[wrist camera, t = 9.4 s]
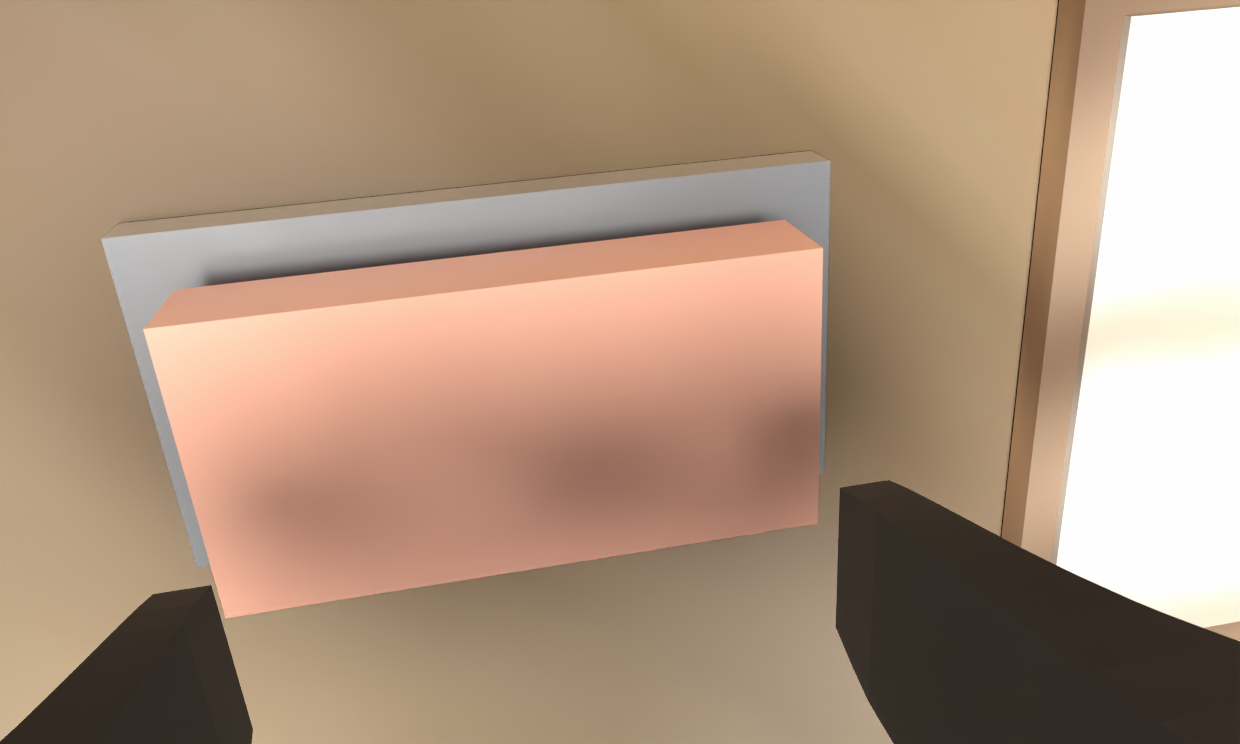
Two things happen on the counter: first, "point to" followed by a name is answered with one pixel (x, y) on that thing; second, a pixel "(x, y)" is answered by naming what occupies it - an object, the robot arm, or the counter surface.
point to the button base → (449, 240)
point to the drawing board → (1136, 311)
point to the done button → (495, 410)
